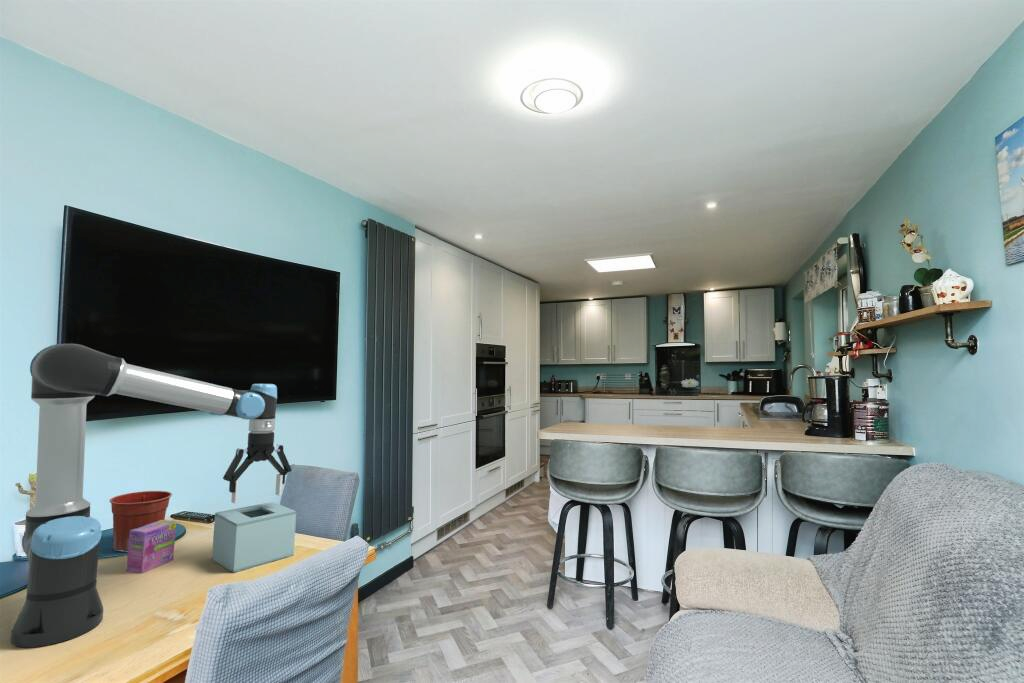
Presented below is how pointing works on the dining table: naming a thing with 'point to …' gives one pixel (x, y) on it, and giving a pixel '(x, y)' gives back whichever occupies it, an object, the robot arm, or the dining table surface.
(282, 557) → the posting box
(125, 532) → the flower pot
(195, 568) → the dining table surface
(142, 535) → the box
